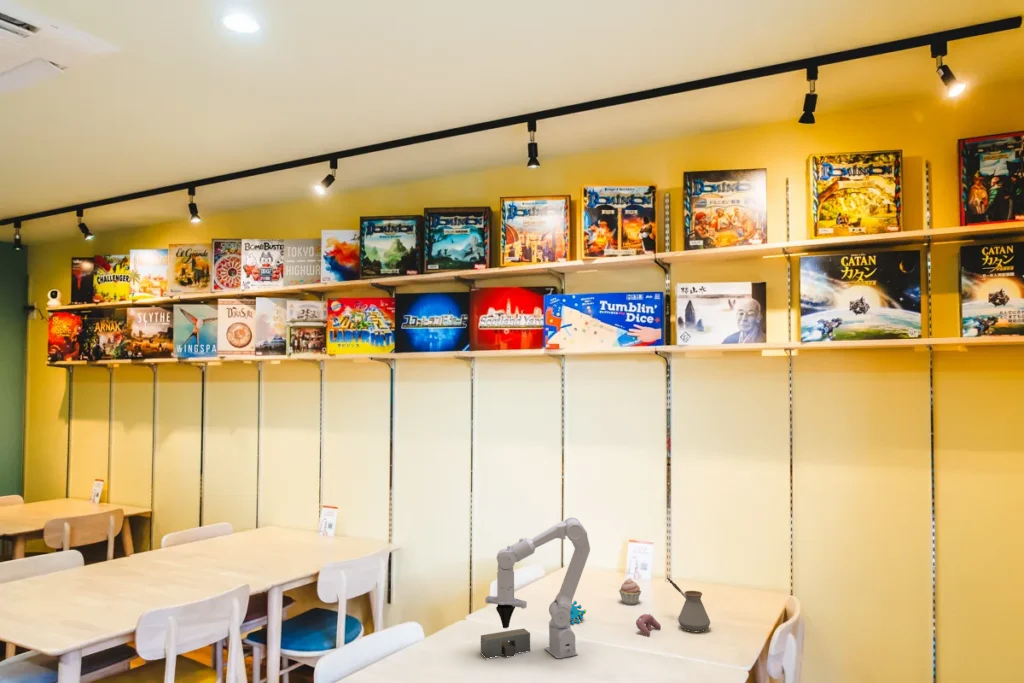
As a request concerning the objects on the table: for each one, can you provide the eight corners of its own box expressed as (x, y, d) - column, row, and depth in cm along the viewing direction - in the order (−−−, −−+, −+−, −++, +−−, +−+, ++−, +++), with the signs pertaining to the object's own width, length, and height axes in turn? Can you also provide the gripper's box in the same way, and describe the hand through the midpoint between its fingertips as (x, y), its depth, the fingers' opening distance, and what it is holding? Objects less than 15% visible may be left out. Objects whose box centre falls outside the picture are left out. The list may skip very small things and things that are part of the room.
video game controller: (652, 631, 252) (644, 612, 255) (662, 628, 250) (654, 609, 252) (639, 639, 245) (631, 620, 247) (650, 636, 242) (641, 616, 245)
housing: (530, 651, 230) (530, 633, 231) (486, 659, 224) (486, 640, 224) (524, 646, 235) (524, 628, 235) (480, 653, 229) (480, 635, 229)
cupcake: (643, 606, 277) (643, 581, 278) (620, 606, 278) (620, 581, 278) (639, 599, 287) (639, 575, 287) (617, 599, 287) (617, 575, 288)
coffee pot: (717, 631, 248) (716, 589, 249) (692, 636, 243) (691, 593, 244) (679, 614, 267) (678, 575, 268) (655, 618, 263) (654, 578, 264)
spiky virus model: (560, 622, 254) (557, 597, 262) (556, 630, 258) (553, 605, 266) (588, 624, 257) (585, 599, 264) (584, 631, 260) (580, 607, 268)
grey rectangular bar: (515, 656, 226) (514, 646, 227) (505, 657, 225) (505, 648, 225) (502, 645, 236) (502, 636, 237) (493, 646, 235) (493, 637, 235)
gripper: (481, 586, 230) (481, 628, 229) (520, 591, 224) (520, 634, 223) (490, 581, 236) (490, 621, 235) (528, 586, 230) (529, 627, 229)
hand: (505, 627), depth 229 cm, fingers closed
